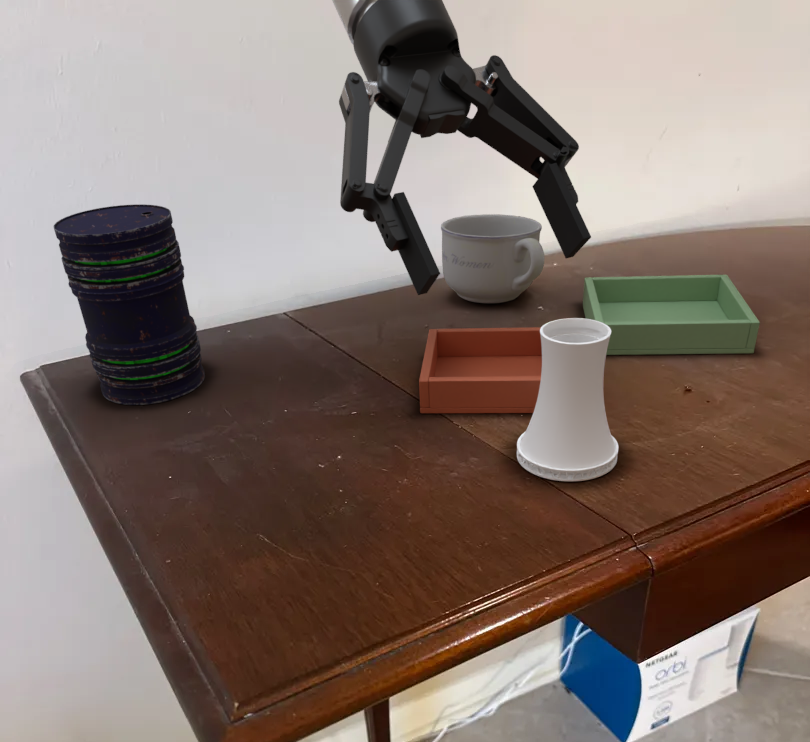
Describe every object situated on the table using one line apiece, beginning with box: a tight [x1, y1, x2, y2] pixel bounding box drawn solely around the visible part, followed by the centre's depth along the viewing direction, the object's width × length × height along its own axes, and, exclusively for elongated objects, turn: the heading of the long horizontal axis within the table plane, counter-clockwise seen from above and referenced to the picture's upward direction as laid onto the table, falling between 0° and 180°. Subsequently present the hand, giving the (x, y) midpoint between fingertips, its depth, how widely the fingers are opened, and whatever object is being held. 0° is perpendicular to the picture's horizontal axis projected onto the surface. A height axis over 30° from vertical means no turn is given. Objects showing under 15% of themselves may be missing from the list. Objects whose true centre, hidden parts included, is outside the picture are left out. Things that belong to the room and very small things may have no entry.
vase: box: [516, 317, 619, 482], centre depth 59 cm, size 8×8×10 cm
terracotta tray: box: [418, 326, 542, 414], centre depth 72 cm, size 12×12×3 cm
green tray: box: [582, 274, 761, 356], centre depth 81 cm, size 15×14×3 cm
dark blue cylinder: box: [53, 204, 206, 406], centre depth 73 cm, size 10×10×15 cm
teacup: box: [440, 213, 545, 304], centre depth 88 cm, size 14×11×8 cm
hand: (507, 266), depth 60 cm, fingers open, 13 cm apart
